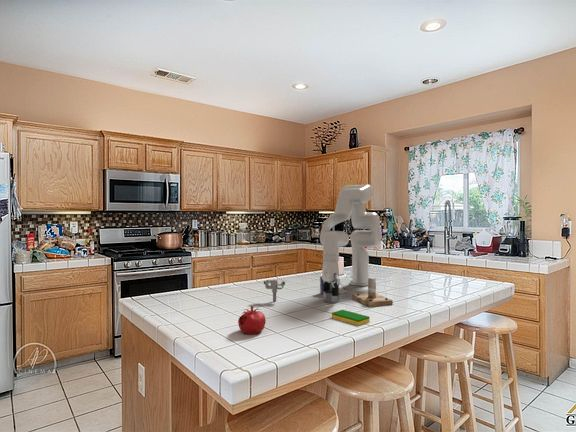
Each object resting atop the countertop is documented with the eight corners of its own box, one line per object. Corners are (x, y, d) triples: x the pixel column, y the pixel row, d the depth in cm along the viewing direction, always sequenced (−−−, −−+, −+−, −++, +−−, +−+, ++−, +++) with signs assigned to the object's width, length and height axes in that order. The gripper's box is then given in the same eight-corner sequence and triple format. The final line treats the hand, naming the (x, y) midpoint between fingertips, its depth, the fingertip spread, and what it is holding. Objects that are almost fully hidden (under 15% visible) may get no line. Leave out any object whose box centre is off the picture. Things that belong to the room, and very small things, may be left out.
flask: (319, 293, 187) (319, 273, 187) (321, 292, 190) (321, 272, 190) (336, 295, 183) (336, 274, 183) (338, 294, 186) (338, 273, 186)
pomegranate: (265, 327, 135) (266, 302, 135) (265, 336, 125) (265, 309, 125) (239, 327, 134) (239, 302, 134) (236, 335, 124) (236, 309, 124)
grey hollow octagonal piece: (321, 299, 174) (321, 290, 174) (334, 298, 176) (334, 289, 176) (327, 303, 167) (327, 294, 167) (341, 302, 170) (341, 292, 169)
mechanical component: (284, 302, 169) (284, 281, 169) (263, 301, 171) (263, 281, 171) (285, 301, 172) (285, 280, 172) (265, 300, 174) (264, 279, 174)
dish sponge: (342, 315, 150) (342, 309, 150) (370, 322, 140) (370, 316, 140) (331, 318, 145) (331, 312, 145) (358, 326, 135) (358, 320, 135)
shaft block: (352, 298, 176) (352, 276, 176) (374, 296, 180) (374, 274, 180) (369, 306, 161) (369, 282, 161) (392, 304, 165) (392, 280, 165)
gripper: (316, 256, 178) (316, 290, 178) (331, 260, 162) (331, 298, 162) (330, 255, 181) (330, 289, 181) (346, 259, 164) (346, 297, 164)
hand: (330, 293), depth 171 cm, fingers open, 9 cm apart
